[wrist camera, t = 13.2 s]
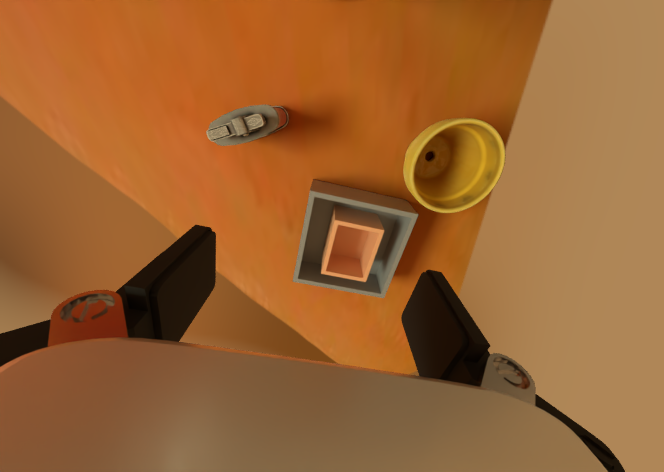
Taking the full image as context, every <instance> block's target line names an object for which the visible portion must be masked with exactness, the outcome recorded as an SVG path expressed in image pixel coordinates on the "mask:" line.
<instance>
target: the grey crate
mask: <svg viewBox="0 0 664 472" xmlns="http://www.w3.org/2000/svg"><path fill="white" fill-rule="evenodd" d="M334 205H338V206H343V207H347V208H352V209H356V210H361V211H366V212H370V213H375V214H377V215H378V217H379V219H380V221H381V224H382V226H383V228H384V233H383V236H382V239H381V242H380V244H379V247H378V250H377V253H376V255H375V258H374V261H373V264H372V266H371V269H370V272H369V275H368V277H367V280H366V282H363V281H357V280H352V279H347V278H341V277H336V276H331V275H325V274H321V267H322V253H323V249H324V245H325V241H326V237H327V233H328V228H329V224H330V220H331V216H332V212H333V208H334ZM418 215H419V214H418V213H417V212H416V211H415V210H414V208H413V207H412V206H411V205H410V204H409V202H408V201H407V200H403V199H399V198H394V197H390V196H386V195H381V194H377V193H372V192H368V191H363V190H359V189H354V188H350V187H346V186H341V185H337V184H332V183H328V182H323V181H319V180H315V179H313V182H312V186H311V189H310V194H309V199H308V204H307V210H306V215H305V220H304V225H303V230H302V236H301V241H300V246H299V251H298V257H297V262H296V267H295V272H294V277H293V282H298V283H304V284H309V285H315V286H320V287H326V288H331V289H337V290H342V291H348V292H353V293H359V294H364V295H370V296H375V297H381V298H384V297H385V294H386V292H387V289H388V287H389V285H390V282H391V280H392V277H393V275H394V273H395V270H396V268H397V265H398V263H399V261H400V258H401V256H402V253H403V251H404V248H405V246H406V244H407V241H408V239H409V236H410V234H411V232H412V229H413V227H414V224H415V222H416V220H417V217H418Z"/></svg>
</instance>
